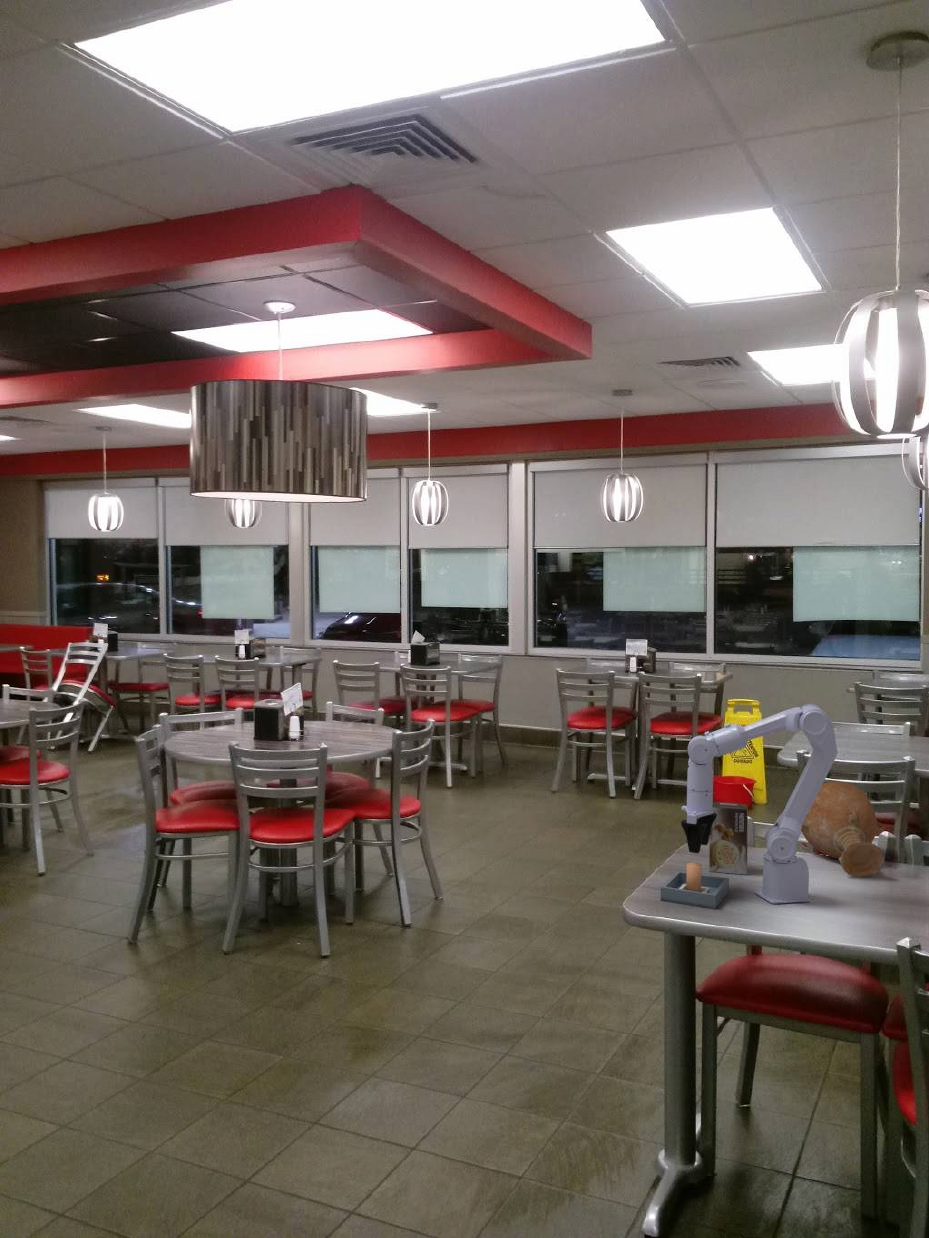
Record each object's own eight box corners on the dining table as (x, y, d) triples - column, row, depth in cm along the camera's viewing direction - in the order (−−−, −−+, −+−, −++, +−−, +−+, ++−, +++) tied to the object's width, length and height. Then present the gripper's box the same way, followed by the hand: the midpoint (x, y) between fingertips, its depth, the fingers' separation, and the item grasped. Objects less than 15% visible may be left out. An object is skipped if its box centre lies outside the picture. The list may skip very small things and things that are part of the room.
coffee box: (747, 868, 254) (749, 803, 253) (746, 875, 248) (748, 809, 247) (709, 864, 257) (711, 800, 256) (707, 871, 251) (709, 806, 250)
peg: (697, 893, 232) (698, 862, 231) (702, 897, 229) (703, 866, 228) (684, 893, 231) (684, 862, 231) (689, 898, 228) (689, 867, 228)
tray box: (677, 883, 241) (677, 870, 241) (728, 891, 235) (729, 878, 235) (660, 900, 228) (660, 887, 228) (714, 909, 223) (715, 895, 223)
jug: (879, 803, 274) (926, 847, 245) (832, 856, 277) (872, 905, 248) (822, 759, 273) (862, 797, 243) (775, 812, 276) (809, 857, 246)
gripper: (690, 781, 242) (689, 838, 243) (674, 793, 229) (672, 853, 230) (720, 784, 239) (719, 842, 240) (705, 796, 226) (704, 858, 227)
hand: (698, 848), depth 235 cm, fingers open, 7 cm apart
